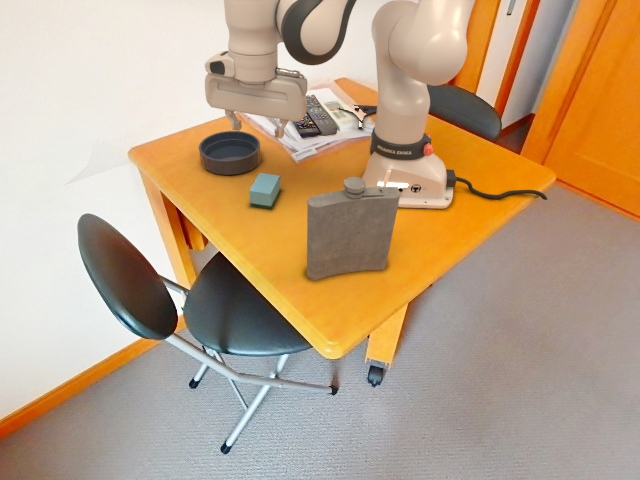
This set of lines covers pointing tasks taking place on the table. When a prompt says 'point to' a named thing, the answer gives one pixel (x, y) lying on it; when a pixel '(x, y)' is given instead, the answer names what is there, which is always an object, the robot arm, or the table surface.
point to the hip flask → (350, 229)
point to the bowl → (230, 152)
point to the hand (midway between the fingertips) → (258, 133)
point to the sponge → (265, 191)
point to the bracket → (366, 110)
